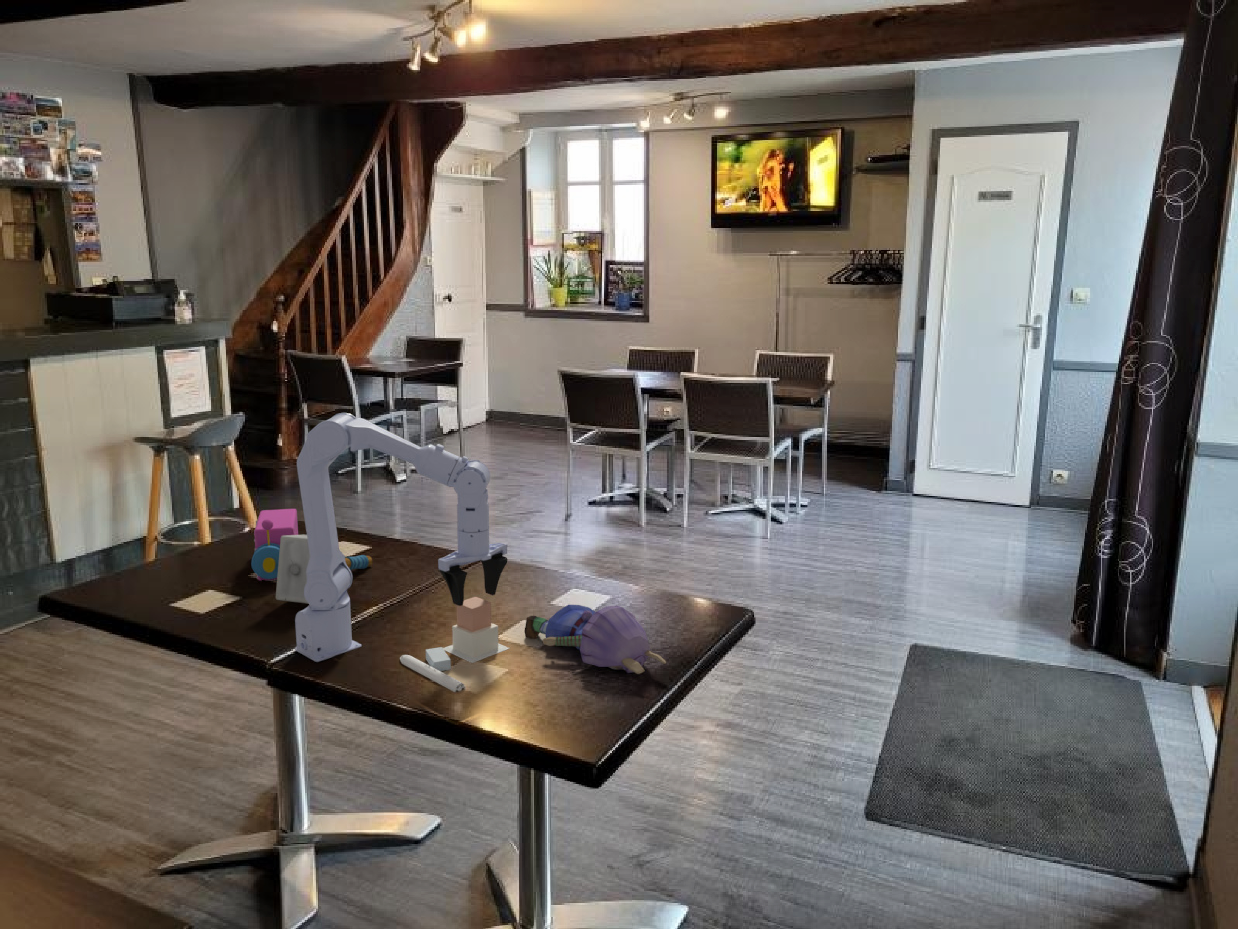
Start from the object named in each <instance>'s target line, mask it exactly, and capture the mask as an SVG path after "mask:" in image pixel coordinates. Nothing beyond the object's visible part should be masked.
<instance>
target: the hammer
mask: <svg viewBox="0 0 1238 929" xmlns="http://www.w3.org/2000/svg"><path fill="white" fill-rule="evenodd" d="M309 559H310V553H309V546H308V539H307V534H298V535H286V536H281V541H280V553H279V564H278V576H277V580H276V589H275V590H276V591H275V599H276V601H284V602H293V603H298V604H299V603H302V604H309V603H308V602H307V601H306V599H305V596H304V587H305V585H306V582H307V575H306V570H307V566H308V563H309ZM345 562H346V564H347V566H348V568H349V569H350V570H351V571H352V570H364V569H366V568H368V567H371V566H372V565H373V558H372V556H370V555H365V554H361V555H356V556H345Z"/></svg>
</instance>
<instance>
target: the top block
mask: <svg viewBox="0 0 1238 929" xmlns="http://www.w3.org/2000/svg"><path fill="white" fill-rule="evenodd" d="M491 623H492V602H491V601H488V600H486V599H483V598H480V597H477V596H472V597H470V598H467V599H464V602H463V605H462V606H458V605H456V625H457V626H459V627H462V628H464V629H466V630H469V631H471V632H474V631H477V630H480V629H483V628H485V627H488V626H491Z"/></svg>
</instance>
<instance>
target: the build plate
mask: <svg viewBox="0 0 1238 929" xmlns="http://www.w3.org/2000/svg"><path fill="white" fill-rule="evenodd" d="M442 648H443V649H444V651H445V652H448V653H449V654H452V655H454V656H456V657H458V658H460V659H463V660H465V661H467V662H469V663H471V664H473V663H476V662H478V661H481V660H483V659H486V658H489V657H492V656H494V655H497V654H499V653H502V652H504V651H506V650H509V649H511V648H510V647H509V646H508V647H507V646H505V645H503V644H501V643H499V642H498V649H495V650H493V651H490V652H488V653H485V654H482V655H480V656H477V657H474V658H472V657H470V656H468V655H466V654H464V653H461V652H459V651H457V650H455V649H453V644H451V645H448V646H446V647H442Z"/></svg>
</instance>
